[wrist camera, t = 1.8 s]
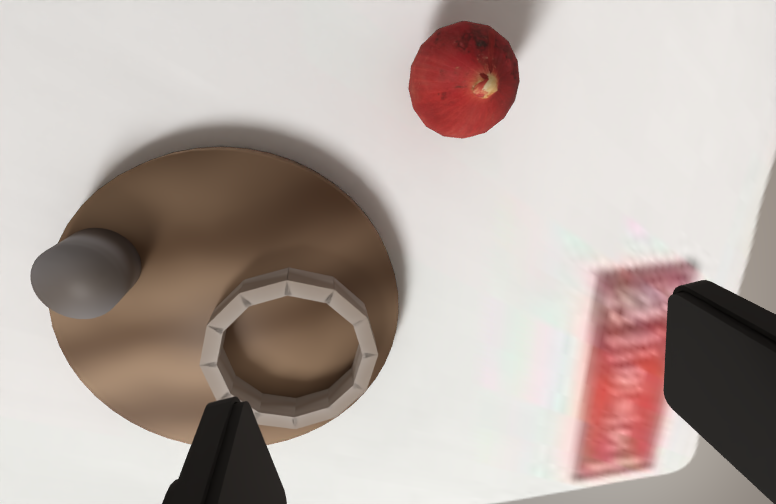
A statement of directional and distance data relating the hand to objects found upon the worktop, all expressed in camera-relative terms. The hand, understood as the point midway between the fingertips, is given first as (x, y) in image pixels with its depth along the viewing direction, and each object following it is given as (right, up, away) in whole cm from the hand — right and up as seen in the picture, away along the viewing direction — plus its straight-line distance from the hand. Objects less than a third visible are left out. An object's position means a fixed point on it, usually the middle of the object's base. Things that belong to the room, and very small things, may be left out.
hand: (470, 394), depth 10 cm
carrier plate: (-12, -1, +21) cm, 24 cm away
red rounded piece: (+2, +14, +18) cm, 23 cm away
